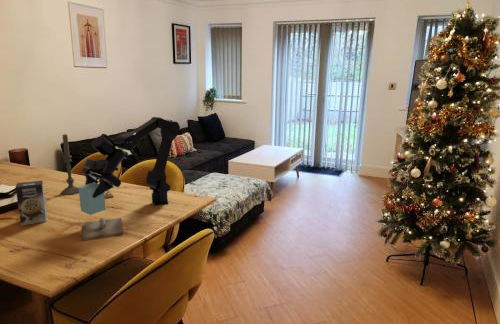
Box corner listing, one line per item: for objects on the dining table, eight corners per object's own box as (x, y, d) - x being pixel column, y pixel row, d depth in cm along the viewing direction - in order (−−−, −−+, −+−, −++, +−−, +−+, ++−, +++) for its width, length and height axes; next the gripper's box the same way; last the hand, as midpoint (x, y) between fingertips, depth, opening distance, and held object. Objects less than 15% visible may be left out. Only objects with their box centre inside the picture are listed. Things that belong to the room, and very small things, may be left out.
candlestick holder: (68, 196, 171) (60, 135, 164) (57, 192, 176) (50, 133, 169) (85, 191, 179) (79, 133, 171) (74, 187, 184) (68, 131, 176)
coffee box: (20, 226, 138) (14, 187, 134) (22, 220, 144) (16, 182, 140) (47, 221, 142) (41, 184, 138) (47, 216, 148) (42, 179, 144)
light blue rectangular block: (96, 206, 141) (93, 182, 139) (105, 209, 138) (103, 185, 135) (81, 210, 136) (78, 186, 134) (90, 214, 133) (87, 190, 130)
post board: (121, 220, 145) (120, 209, 144) (123, 234, 133) (122, 222, 131) (84, 224, 140) (83, 213, 139) (82, 240, 128) (80, 228, 126)
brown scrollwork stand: (112, 194, 174) (110, 171, 171) (113, 197, 171) (111, 173, 168) (93, 197, 170) (90, 174, 167) (93, 200, 167) (91, 176, 164)
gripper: (83, 147, 140) (59, 180, 134) (111, 154, 129) (86, 190, 123) (103, 162, 148) (81, 194, 142) (131, 170, 137) (108, 204, 131)
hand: (88, 195), depth 134 cm, fingers closed on light blue rectangular block, 6 cm apart
